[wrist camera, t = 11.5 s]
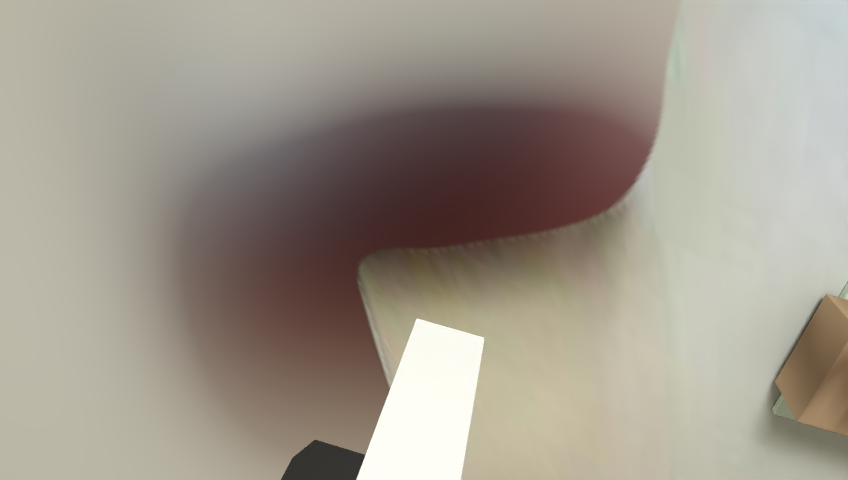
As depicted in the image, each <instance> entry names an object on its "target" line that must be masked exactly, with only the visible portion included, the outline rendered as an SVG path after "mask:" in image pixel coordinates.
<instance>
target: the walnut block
mask: <svg viewBox="0 0 848 480" xmlns="http://www.w3.org/2000/svg"><path fill="white" fill-rule="evenodd" d="M775 383H776V385H777V387H778V388H779V390H780V392H781V394H782V396H783V397H784V399H785V401H786V403H787V404H788V406H789V408H790V410H791V411H792V413H793V415H794V417H795V418H796V420H797V422H800V423H804V424H807V425H811V426H814V427H818V428H821V429H825V430H829V431H832V432H836V433H839V434H843V435H846V436H848V300H847V299H843V298H839V297H835V296H832V295H828V294H826V295H825V297H824V298H823V300H822V302H821V304H820V305H819V307H818V309H817V310H816V312H815V314H814V315H813V317H812V319H811V321H810V322H809V324H808V326H807V327H806V329H805V331H804V333H803V334H802V336H801V338H800V339H799V341H798V343H797V344H796V346H795V348H794V350H793V351H792V353H791V355H790V356H789V358H788V360H787V362H786V363H785V365H784V367H783V368H782V370H781V372H780V374H779V375H778V377H777V379H776V380H775Z"/></svg>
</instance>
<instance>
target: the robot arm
mask: <svg viewBox="0 0 848 480" xmlns="http://www.w3.org/2000/svg"><path fill="white" fill-rule="evenodd" d="M483 344H484V338H483V337H480V336H476V335H473V334H469V333H466V332H462V331H459V330H455V329H452V328H448V327H445V326H441V325H437V324H434V323H430V322H427V321H423V320H420V319H416V322H415V325H414V327H413V330H412V333H411V335H410V338H409V341H408V343H407V346H406V349H405V351H404V354H403V357H402V359H401V362H400V365H399V367H398V370H397V373H396V375H395V378H394V381H393V383H392V386H391V389H390V391H389V394H388V397H387V399H386V402H385V405H384V407H383V410H382V413H381V415H380V418H379V421H378V423H377V426H376V429H375V432H374V434H373V437H372V439H371V442H370V445H369V447H368V450H367V453H366V455H364V454H361V453H357V452H354V451H351V450H347V449H344V448H341V447H338V446H334V445H331V444H328V443H324V442H321V441H318V440H314V441H313V442H312V443H310V444H309V445H308V446H307V447H305V448H304V449H303V450H302V451H300V452H299V453H298V454H297V455H295V456H294V457H293V458H292V460H291V462H290V464H289V466H288V467H287V469H286V471H285V473H284V475H283V477H282V479H281V480H461V475H462V469H463V463H464V457H465V451H466V445H467V439H468V433H469V427H470V421H471V415H472V409H473V403H474V397H475V391H476V385H477V379H478V373H479V368H480V362H481V356H482V350H483Z"/></svg>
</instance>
